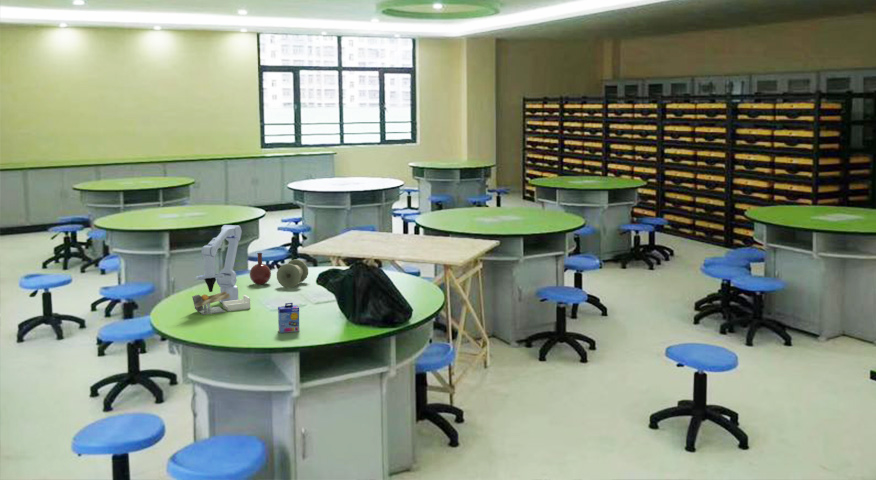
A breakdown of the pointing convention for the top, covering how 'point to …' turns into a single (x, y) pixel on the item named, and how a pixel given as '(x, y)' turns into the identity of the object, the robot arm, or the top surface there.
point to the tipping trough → (213, 298)
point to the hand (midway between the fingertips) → (210, 291)
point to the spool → (292, 273)
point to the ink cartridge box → (288, 318)
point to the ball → (204, 297)
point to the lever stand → (211, 310)
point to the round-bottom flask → (260, 272)
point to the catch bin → (237, 304)
